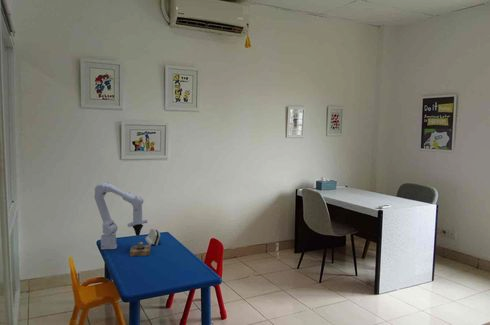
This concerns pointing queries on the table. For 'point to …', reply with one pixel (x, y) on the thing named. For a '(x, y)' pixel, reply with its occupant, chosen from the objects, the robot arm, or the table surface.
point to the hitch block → (140, 251)
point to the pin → (140, 245)
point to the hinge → (153, 237)
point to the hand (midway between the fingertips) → (137, 235)
